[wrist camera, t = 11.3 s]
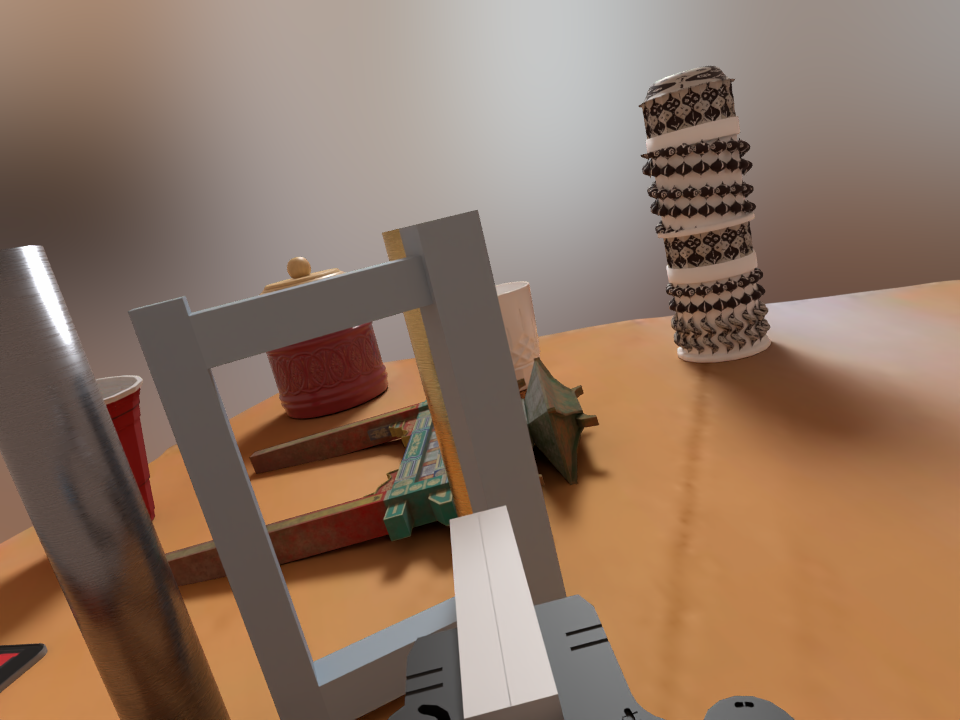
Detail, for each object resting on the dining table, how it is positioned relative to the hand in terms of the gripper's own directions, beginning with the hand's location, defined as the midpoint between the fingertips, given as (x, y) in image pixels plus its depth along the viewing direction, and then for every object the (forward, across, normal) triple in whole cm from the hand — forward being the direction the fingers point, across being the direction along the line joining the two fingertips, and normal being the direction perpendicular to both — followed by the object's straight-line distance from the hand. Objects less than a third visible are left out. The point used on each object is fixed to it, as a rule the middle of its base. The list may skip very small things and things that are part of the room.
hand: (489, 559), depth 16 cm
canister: (+59, -15, -10) cm, 62 cm away
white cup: (+47, +5, -10) cm, 49 cm away
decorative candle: (+42, +25, -9) cm, 50 cm away
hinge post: (+5, -12, -9) cm, 16 cm away
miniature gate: (+30, -6, -10) cm, 32 cm away
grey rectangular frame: (+8, -4, -9) cm, 13 cm away
